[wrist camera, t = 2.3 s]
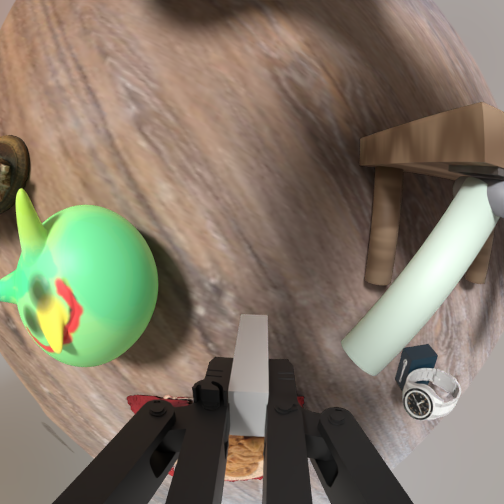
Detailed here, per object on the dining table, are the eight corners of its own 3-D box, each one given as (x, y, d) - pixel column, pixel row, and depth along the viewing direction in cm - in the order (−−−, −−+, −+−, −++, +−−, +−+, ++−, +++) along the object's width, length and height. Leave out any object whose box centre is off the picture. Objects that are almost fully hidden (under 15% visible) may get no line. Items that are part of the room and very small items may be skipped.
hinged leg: (457, 163, 14) (503, 165, 10) (481, 195, 14) (525, 204, 10) (334, 326, 17) (351, 369, 13) (365, 348, 17) (387, 390, 13)
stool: (360, 138, 28) (482, 101, 9) (489, 165, 28) (605, 179, 8) (350, 272, 32) (436, 384, 13) (476, 273, 31) (574, 338, 12)
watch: (390, 349, 35) (423, 401, 24) (437, 342, 34) (475, 386, 24) (383, 381, 36) (408, 434, 25) (428, 372, 36) (459, 418, 25)
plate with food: (129, 388, 39) (120, 402, 36) (303, 389, 37) (305, 407, 33) (171, 469, 46) (167, 482, 42) (302, 473, 43) (303, 487, 40)
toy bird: (122, 350, 36) (73, 419, 22) (41, 267, 34) (-29, 306, 20) (202, 263, 32) (160, 328, 18) (101, 165, 30) (13, 168, 16)
